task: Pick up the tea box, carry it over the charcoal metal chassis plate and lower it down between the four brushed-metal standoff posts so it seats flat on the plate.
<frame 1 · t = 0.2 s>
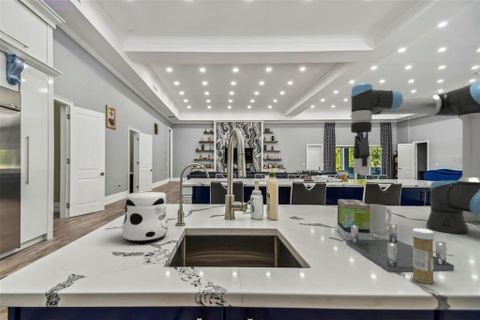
hand: (360, 174, 99), 27 cm above the counter, fingers open, 13 cm apart
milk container: (145, 238, 99), on the counter
mug: (380, 232, 110), on the counter
sprinkles bottle: (422, 280, 65), on the counter
chassis: (392, 255, 82), on the counter
tea box: (352, 236, 104), on the counter
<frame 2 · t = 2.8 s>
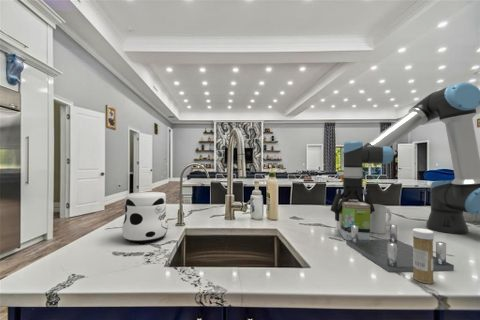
hand: (352, 228, 104), 3 cm above the counter, fingers closed on tea box, 11 cm apart
tea box: (352, 236, 104), on the counter, touching gripper
everything else where it was.
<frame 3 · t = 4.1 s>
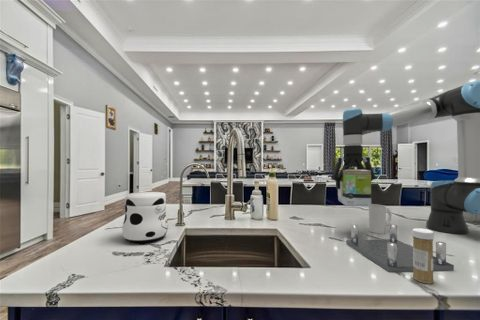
hand: (353, 196, 104), 17 cm above the counter, fingers closed on tea box, 11 cm apart
tea box: (353, 204, 104), point 14 cm above the counter, touching gripper
everything else where it was.
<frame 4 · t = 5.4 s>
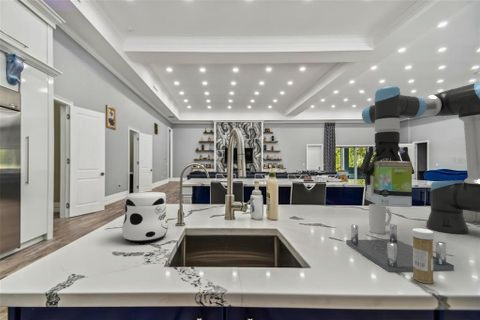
hand: (386, 194, 85), 20 cm above the counter, fingers closed on tea box, 11 cm apart
tea box: (386, 203, 85), point 17 cm above the counter, touching gripper
everything else where it was.
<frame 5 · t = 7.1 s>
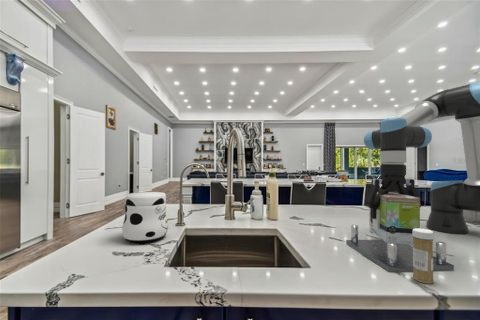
hand: (392, 228, 82), 9 cm above the counter, fingers closed on tea box, 11 cm apart
tea box: (392, 238, 82), point 6 cm above the counter, touching gripper
everything else where it was.
when the fingers open (5 cm above the counter, at t = 8.5 s): tea box moves 1 cm, resting on chassis.
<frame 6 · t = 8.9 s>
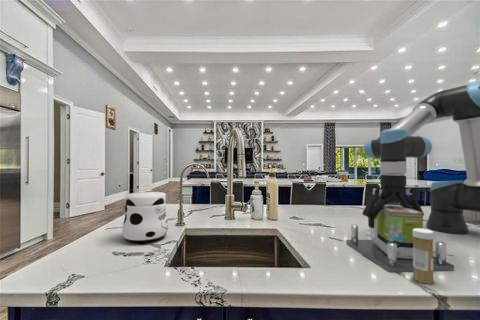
hand: (392, 237, 82), 6 cm above the counter, fingers open, 13 cm apart
tea box: (395, 251, 83), point 1 cm above the counter, touching chassis, gripper
everything else where it was.
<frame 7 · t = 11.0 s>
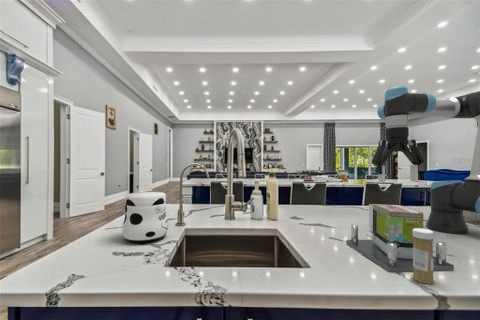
hand: (398, 182, 94), 24 cm above the counter, fingers open, 13 cm apart
tea box: (395, 251, 83), point 1 cm above the counter, touching chassis
everything else where it was.
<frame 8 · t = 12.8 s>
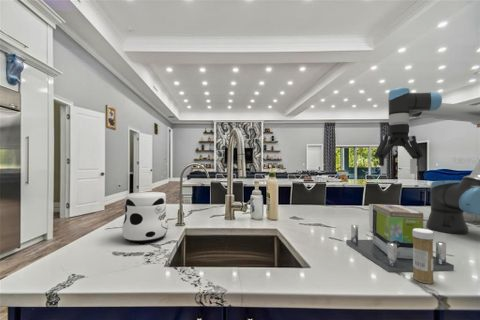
hand: (398, 173, 105), 27 cm above the counter, fingers open, 13 cm apart
nothing on the counter moved.
at the end: tea box 1.1 cm off-centre on the chassis, point 1.3 cm above the chassis's base; tea box tilted 0°; the gripper is holding nothing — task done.
